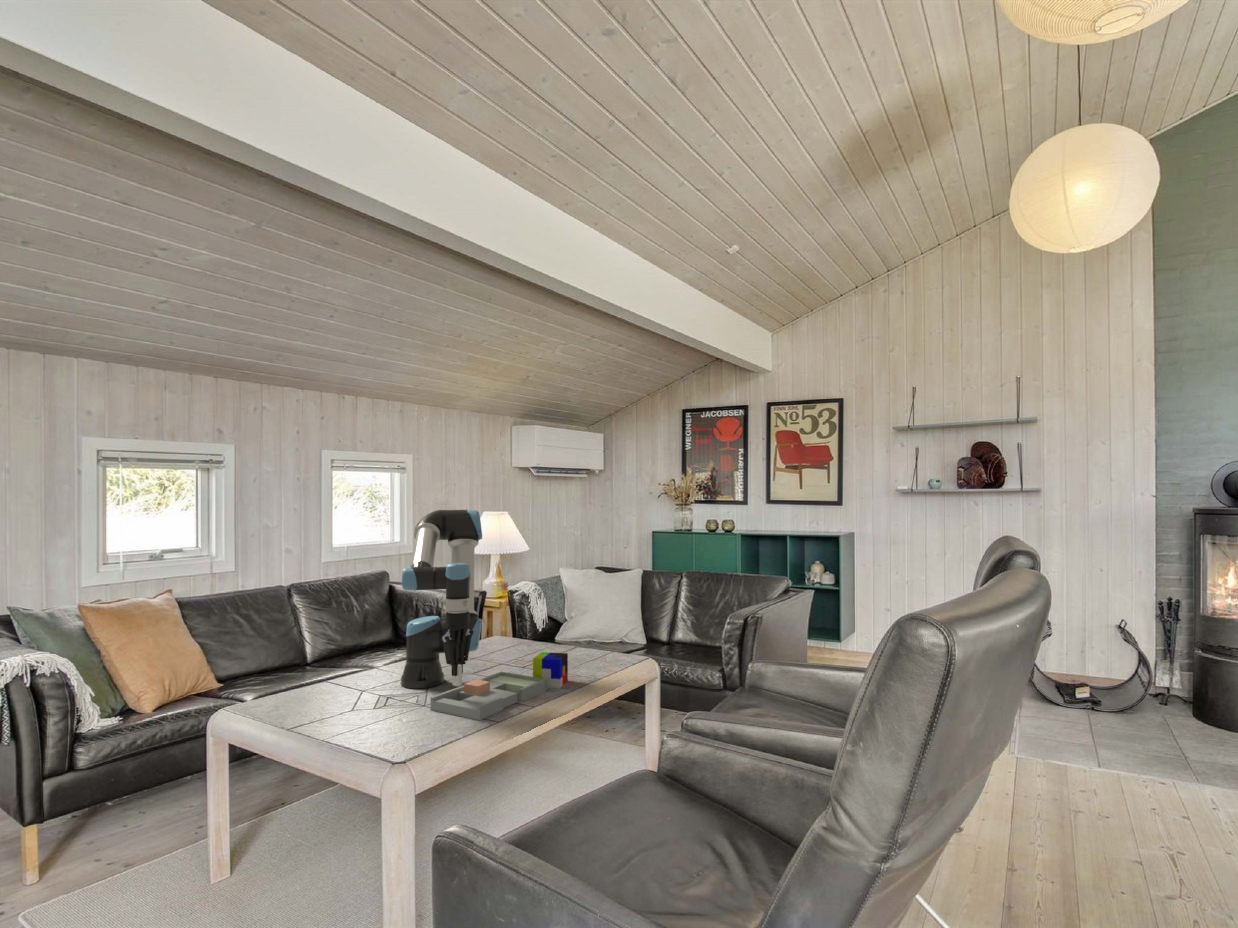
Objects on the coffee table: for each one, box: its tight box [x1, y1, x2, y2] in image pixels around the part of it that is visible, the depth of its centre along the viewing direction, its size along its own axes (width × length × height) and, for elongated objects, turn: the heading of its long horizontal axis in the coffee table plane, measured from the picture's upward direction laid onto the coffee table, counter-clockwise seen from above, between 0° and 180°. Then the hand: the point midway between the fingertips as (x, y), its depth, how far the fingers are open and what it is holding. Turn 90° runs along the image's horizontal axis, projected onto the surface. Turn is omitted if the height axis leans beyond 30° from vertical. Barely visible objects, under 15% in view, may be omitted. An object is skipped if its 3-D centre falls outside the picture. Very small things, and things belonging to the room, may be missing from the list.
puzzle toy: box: [532, 651, 569, 689], centre depth 251 cm, size 10×10×10 cm
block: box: [463, 679, 490, 696], centre depth 230 cm, size 6×6×3 cm
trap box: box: [429, 671, 548, 721], centre depth 231 cm, size 20×35×4 cm, turn 150°
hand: (457, 685), depth 223 cm, fingers closed
